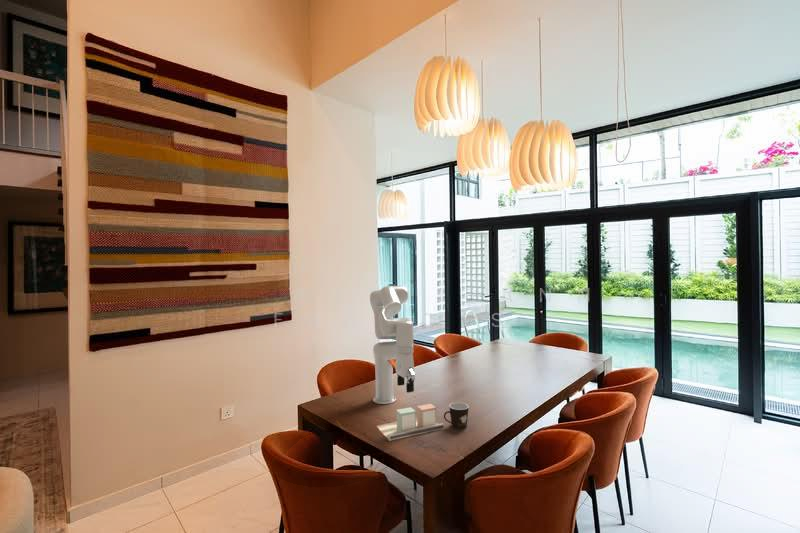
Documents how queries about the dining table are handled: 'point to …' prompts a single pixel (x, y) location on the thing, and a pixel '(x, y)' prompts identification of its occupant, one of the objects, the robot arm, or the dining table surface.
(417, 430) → the shelf board
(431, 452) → the dining table surface
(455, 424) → the coffee mug
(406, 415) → the green tin
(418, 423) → the pink rectangular block
